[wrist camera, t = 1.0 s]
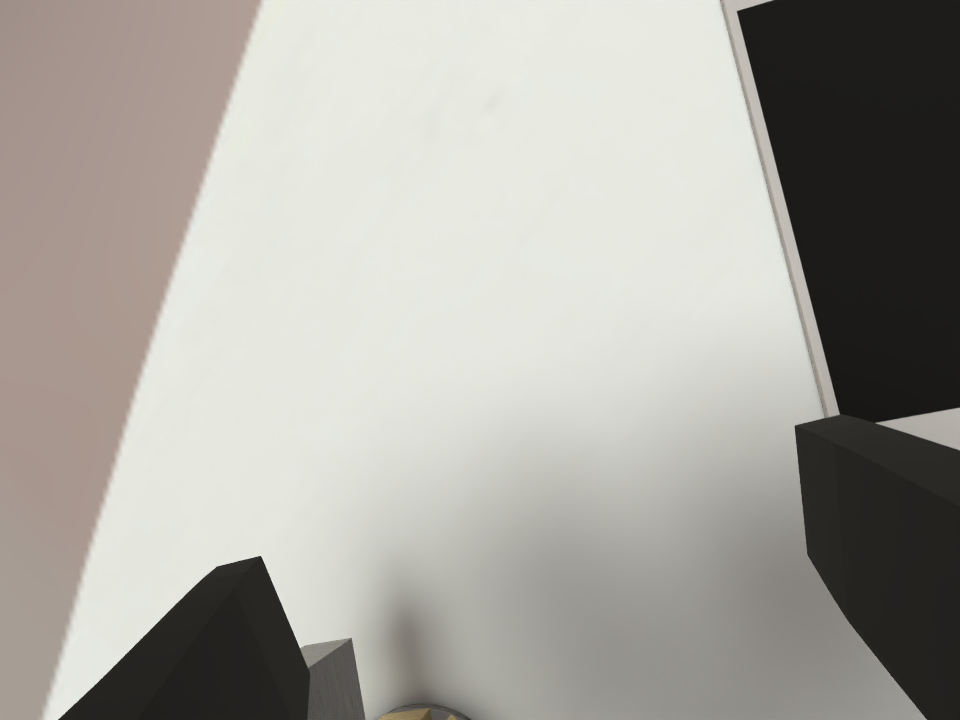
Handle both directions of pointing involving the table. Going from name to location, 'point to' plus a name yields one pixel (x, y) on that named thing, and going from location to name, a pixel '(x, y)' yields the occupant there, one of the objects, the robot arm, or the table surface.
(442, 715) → the base
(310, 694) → the ring nut
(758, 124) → the smartphone
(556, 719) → the table surface
